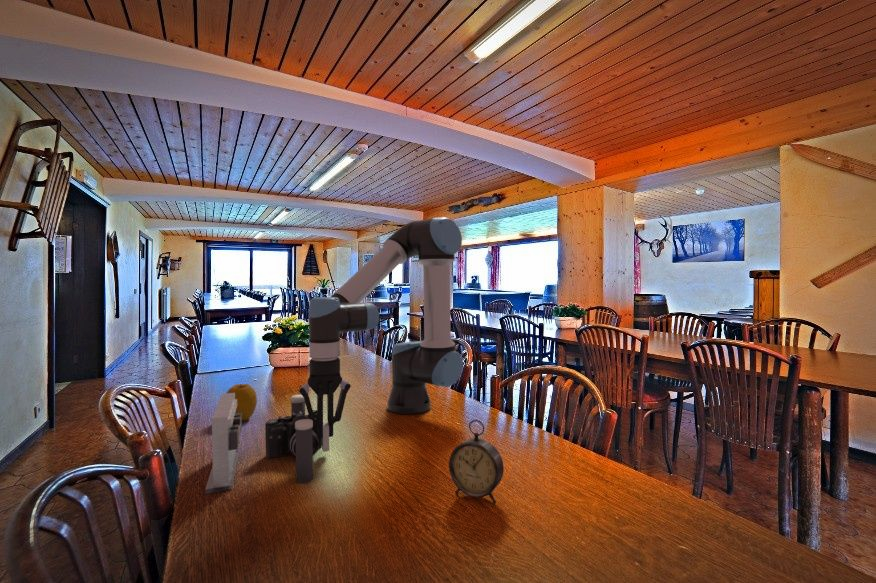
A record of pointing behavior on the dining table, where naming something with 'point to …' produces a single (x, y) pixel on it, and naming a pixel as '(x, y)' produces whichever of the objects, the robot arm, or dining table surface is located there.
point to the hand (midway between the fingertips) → (325, 449)
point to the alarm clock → (476, 466)
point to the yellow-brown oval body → (244, 400)
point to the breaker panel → (224, 444)
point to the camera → (287, 435)
